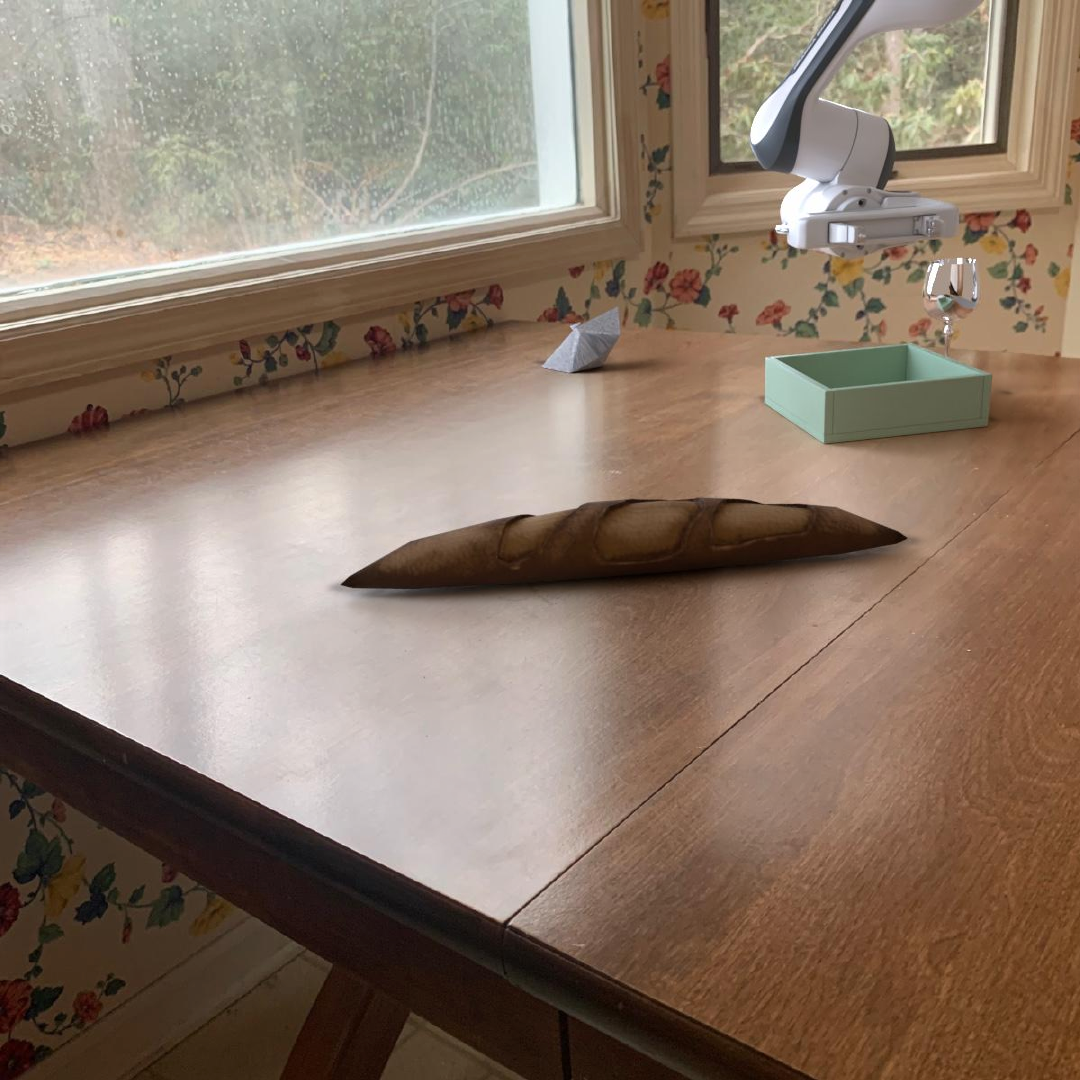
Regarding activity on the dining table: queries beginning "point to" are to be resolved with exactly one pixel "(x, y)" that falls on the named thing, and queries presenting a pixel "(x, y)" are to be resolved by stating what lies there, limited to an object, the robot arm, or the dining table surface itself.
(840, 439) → the bin
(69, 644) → the dining table surface
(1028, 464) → the dining table surface
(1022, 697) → the dining table surface
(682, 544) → the bread
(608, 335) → the paper boat
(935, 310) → the wineglass
